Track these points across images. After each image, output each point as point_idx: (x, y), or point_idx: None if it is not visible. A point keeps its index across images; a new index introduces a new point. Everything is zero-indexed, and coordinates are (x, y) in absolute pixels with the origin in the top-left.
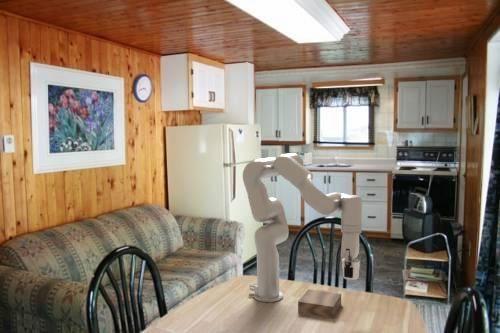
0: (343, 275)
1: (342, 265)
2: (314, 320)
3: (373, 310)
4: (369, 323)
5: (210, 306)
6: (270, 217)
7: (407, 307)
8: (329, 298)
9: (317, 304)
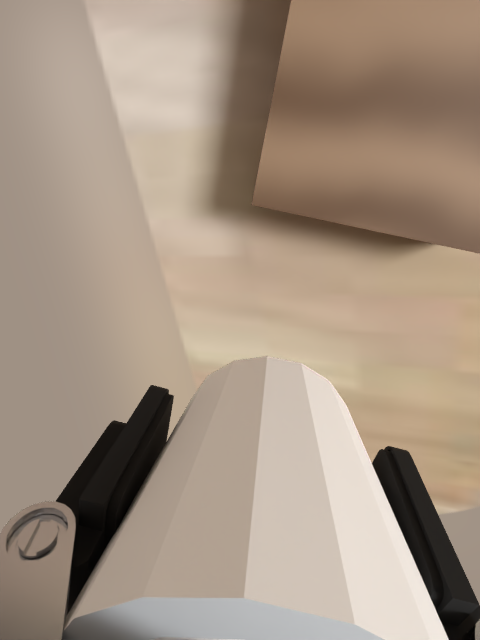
0: (239, 371)
1: (231, 463)
2: (209, 90)
3: (370, 386)
4: (232, 359)
5: None
6: None
7: None
8: (395, 171)
9: (275, 84)
